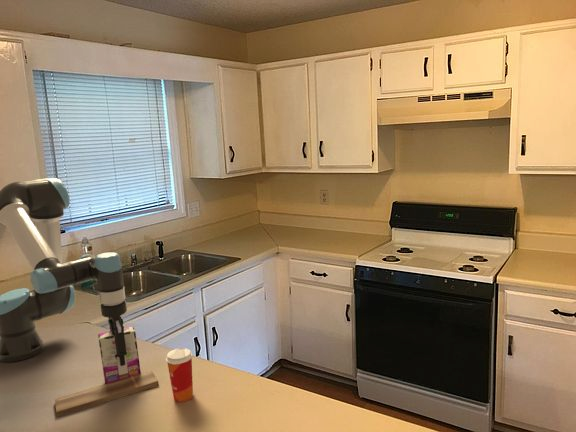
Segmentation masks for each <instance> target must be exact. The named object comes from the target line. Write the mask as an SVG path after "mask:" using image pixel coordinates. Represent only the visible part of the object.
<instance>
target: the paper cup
mask: <svg viewBox="0 0 576 432" xmlns="http://www.w3.org/2000/svg"><path fill="white" fill-rule="evenodd" d="M192 359H193V353H192V352H191V350H190V349H189V348H186V347H185V348H175V349H173V350H170V351H168V353H167V355H166V357H165V361H166V363H167V368H168V373H169V379H170V386H171V390H172V394H173V399H174V401H175V402H176V403H177V402H178V403H183V402H185V403H186V402H187V401H189V400H191V399H192V398H193V395H194V393H193V392H194V391H193V390H194V389H193V388H194V387H193V386H194V385H193V382H194V381H193V362H192Z"/></svg>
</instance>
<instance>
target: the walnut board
mask: <svg viewBox="0 0 576 432" xmlns="http://www.w3.org/2000/svg"><path fill="white" fill-rule="evenodd" d="M157 386H160V385H159V380H158V378H157V377H156V374H155V373H154V372H153V370H149V371H145V372H141V374H138V375H134V376H131V377H128V378H124V379H121V380H117V381H114V382H111V383H107V384H105V383H104V384H101V385H97V386H95V387H90V388H86V389H83V390H81V391H76V392H73V393H70V394H67V395H63V396H60V397H56V398H54V405H55V410H56V411H55V413H56V417H57V418H58V417H62V416H64V415H67V414H71V413H74V412H77V411H80V410H85V409H87V408H91V407H93V406H96V405H100V404H104V403H106V402H109V401H113V400H116V399H119V398H122V397H125V396H129V395H132V394H135V393H138V392H141V391H145V390H147V389H151V388H155V387H157Z"/></svg>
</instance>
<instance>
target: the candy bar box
mask: <svg viewBox="0 0 576 432" xmlns="http://www.w3.org/2000/svg"><path fill="white" fill-rule="evenodd" d="M97 335H98V336H97V337H98V344H99V345H98V346H99V351H100V358H101V365H102V372H103V378H104V384H107V383H111V382H114V381H117V380H121V379H124V378H128V377H131V376H134V375H138V374H141V373H142V370H141V365H140V363H141V362H140V358H139V357H140V356H139V350H138V349H139V348H138V342H137V341H138V340H137V334H136V330H135V327H134V325H132V326H125V327H124V337H125V345H126V352H127V355H126V360H127V368H128V373H126V374H122V375H119V371H118V364H117V357H115V355H117V351H116V344H115V337H114V335H113V334H112V331H105V332H100V333H98V334H97Z"/></svg>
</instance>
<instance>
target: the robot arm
mask: <svg viewBox="0 0 576 432" xmlns="http://www.w3.org/2000/svg"><path fill="white" fill-rule="evenodd" d="M70 203H71V201H70V195H69V193H68V189H67V187H66V186H65V184H64V182H63V181H62V180H61V179H58V178H56V177H54V178H52V177H51V178H47V177H46V178H45V177H44V178H39V179H32V180H31V179H30V180H23V181H22V180H21V181H14V182H10V183H8V184H6V185H4V186H3V187H2V188H1V189H0V224H1V225H3V226H6V228H7V229H8V231H9V233H10V234H11V237H13V240H14V241H15V242H16V244H17V246H18V248H19V250H20V251H21V252H22V254H23V255H24V257H25V259H26V260H27V262H28V263H29V265H30V266H31V268H32V271H31V273H30V283H31V286H32V288H33V289H32V290H30V289H29V288H28V287H27V288H26V287H22V288H21V287H20V288H16V289H12V290H10V291H6V292H4V293H3V294H0V362H3V363H15V362H20V361H23V360H28V359H29V358H32V357H35V356H36V355H39V354H40V353H41V352H42V351H43V350H44V349H45V345H44V341H43V339H42V338H41V337H42V336H40V333H39V332H38V331H37V329H36V322H38V321H41V320H43V319H47V318H51V317H53V316H56V315H61V314H63V313H65V312H68V311H69V310H72V308H73V307H74V306H75V302H76V291H75V287H74V286H77V285H79V284H83V283H86V282H89V281H95V282H97V288H98V289H97V290H98V293H97V295H96V296H97V298H99V302H100V312H101V316H102V317H104V318H107V322H108V325H109V330H110V331H112V334H113V335H114V337H115V344H116V351H117V355H115V357H117V364H118V371H119V375H122V374H126V373H128V368H127V360H126V355H127V352H126V345H125V337H124V328H125V327H124V319H123V318H122V316H123V315H124V314H126V313H127V311H128V307H127V301H126V300H125V299H126V293H125V291H126V290H125V286H124V285H125V284H124V283H125V282H124V275H123V267H122V266H123V263H122V262H121V256H120V254H119V253H117V252H112V251H111V252H102V253H100V254H97V255H96V254H91V253H90V254H88V253H87V254H84V255H81V256H80V257H79V258H78V259H74V260H71V261H66V262H63V252H62V251H63V250H62V238H61V237H62V235H61V222H60V219H61V218H62V217H63V216H64V215H65V214H64V209H67V208H69V206H70Z"/></svg>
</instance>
